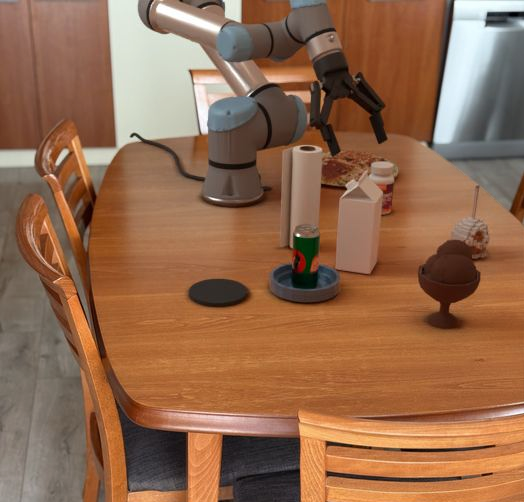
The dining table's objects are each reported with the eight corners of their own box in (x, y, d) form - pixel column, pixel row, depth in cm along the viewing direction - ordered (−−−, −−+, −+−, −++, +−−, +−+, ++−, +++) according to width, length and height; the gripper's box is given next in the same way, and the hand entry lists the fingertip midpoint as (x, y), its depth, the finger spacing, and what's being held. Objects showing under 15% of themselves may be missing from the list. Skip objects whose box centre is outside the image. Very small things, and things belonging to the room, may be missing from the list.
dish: (255, 287, 165) (255, 274, 163) (304, 269, 173) (304, 256, 171) (304, 310, 156) (304, 296, 155) (353, 290, 164) (354, 277, 163)
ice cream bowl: (405, 309, 157) (413, 232, 150) (464, 307, 158) (475, 231, 151) (419, 336, 148) (429, 255, 141) (482, 334, 149) (495, 254, 142)
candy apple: (474, 264, 177) (485, 193, 169) (442, 254, 181) (450, 185, 174) (493, 253, 182) (504, 185, 175) (461, 244, 186) (470, 177, 179)
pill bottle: (373, 216, 201) (377, 169, 195) (360, 208, 206) (364, 162, 200) (396, 213, 203) (400, 166, 197) (383, 205, 208) (386, 159, 202)
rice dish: (368, 201, 214) (370, 180, 211) (274, 176, 226) (275, 156, 223) (414, 173, 234) (417, 154, 232) (326, 153, 247) (328, 134, 244)
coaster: (177, 292, 162) (177, 289, 162) (221, 277, 169) (221, 273, 168) (214, 312, 155) (214, 308, 155) (259, 295, 162) (259, 291, 161)
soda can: (315, 293, 162) (318, 234, 156) (289, 291, 163) (291, 231, 157) (319, 283, 166) (322, 224, 160) (293, 280, 167) (295, 222, 161)
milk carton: (377, 262, 177) (385, 172, 168) (369, 275, 171) (377, 182, 162) (343, 257, 179) (349, 168, 170) (334, 270, 173) (340, 178, 164)
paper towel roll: (321, 244, 185) (326, 146, 175) (311, 254, 180) (316, 153, 170) (291, 238, 187) (294, 141, 177) (279, 248, 183) (282, 148, 172)
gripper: (290, 58, 182) (325, 153, 182) (379, 42, 194) (411, 131, 194) (274, 74, 188) (307, 165, 189) (361, 57, 200) (392, 142, 201)
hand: (360, 148), depth 191 cm, fingers open, 13 cm apart
